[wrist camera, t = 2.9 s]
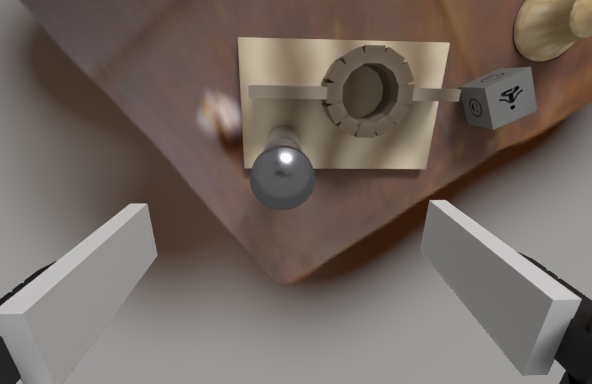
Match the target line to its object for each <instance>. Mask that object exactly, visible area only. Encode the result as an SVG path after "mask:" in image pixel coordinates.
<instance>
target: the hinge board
mask: <svg viewBox="0 0 592 384" xmlns="http://www.w3.org/2000/svg"><path fill="white" fill-rule="evenodd" d="M449 45H450V43H440V42H400V41H361V40H322V39H282V38H243V37H238V50H239V70H240V90H241V110H242V130H243V150H244V168H252V166H253V164H254V162H255V160H256V158H257V157H258V156H259V155H260V154H261V153H262V152H263V151H264V148H265V145H266V141H267V138H268V135H269V133H270V131H271V130H272V129H274V128H275V127H277V126H282V125H284V126H289V127H291V128H292V129H294V130H295V132H296V133H297V135H298V138H299V141H300V145H301V149H302V152H303V153H304V154H305V155H306V156H307V157H308V158H309V160H310V162H311V164H312V166H313V169H426V166H427V161H428V155H429V150H430V145H431V139H432V134H433V129H434V124H435V118H436V113H437V108H438V103H439V101H457V102H459V98H460V93H461V89H441V87H442V81H443V76H444V71H445V66H446V60H447V55H448V50H449Z"/></svg>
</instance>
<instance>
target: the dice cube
mask: <svg viewBox="0 0 592 384" xmlns="http://www.w3.org/2000/svg"><path fill="white" fill-rule="evenodd" d="M459 89H461V93H460V94H461V98H462V102H463V106H464V111H465V115H466V119H467V123H468V124H470V125H474V126H478V127H483V128H487V129H492V130H494V129H497V128H499V127H501V126H503V125H506V124H508V123H510V122H513V121H515V120H517V119H519V118H522V117H524V116H526V115H528V114H531V113H533V112H535V111H537V105H536V98H535V91H534V84H533V77H532V70H531V67H518V68H501V69H497V70H495V71H493V72H490V73H488V74H486V75H484V76H482V77H480V78H477V79H475V80H473V81H471V82H469V83H467V84H465V85H462V86H460V87H459Z"/></svg>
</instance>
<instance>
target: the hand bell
mask: <svg viewBox="0 0 592 384" xmlns="http://www.w3.org/2000/svg"><path fill="white" fill-rule="evenodd" d="M513 34H514V42H515V45H516V47H517V50H518V51H519V53H520V54H521V55H523V56H524V57H525V58H527V59H529V60H532V61H538V62H540V61H546V60H550V59H553V58H555V57H557V56H559V55H560V54H562V53H563V52H565V51H566V50H567V49H569V48H570V47H571V46H572V45H573V44H574V43H575V42H576V41H577V40H580V39H583V38H587V37H591V36H592V0H525V2H524V3H523V4H522V6H521V8H520V10H519V12H518V14H517V16H516V19H515V24H514V32H513Z"/></svg>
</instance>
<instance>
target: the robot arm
mask: <svg viewBox="0 0 592 384" xmlns="http://www.w3.org/2000/svg"><path fill="white" fill-rule="evenodd" d="M420 250H421V252H422V253H423V254H424V256H425V257H426V258H427V259H428V261H429V262H430V263H431V264H432V265H433V267H434V268H435V269H436V270H437V272H438V273H439V274H440V275H441V277H442V278H443V279H444V280H445V281H446V283H447V284H448V285H449V286H450V288H451V289H452V290H453V291H454V292H455V294H456V295H457V296H458V297H459V299H460V300H461V301H462V302H463V304H464V305H465V306H466V307H467V308H468V310H469V311H470V312H471V313H472V315H473V316H474V317H475V318H476V319H477V321H478V322H479V323H480V324H481V326H482V327H483V328H484V329H485V330H486V332H487V333H488V334H489V335H490V337H491V338H492V339H493V340H494V341H495V343H496V344H497V345H498V346H499V348H500V349H501V350H502V351H503V353H504V354H505V355H506V356H507V358H508V359H509V360H510V361H511V362H512V364H513V365H514V366H515V367H516V369H517V370H518V371H519V372H520V373H521V375H522V376H524V375H548V373H549V371H550V368H551V366H552V364H553V361H554V360H555V359H556V360H557V361H558V362H559V363H560V364H561V366H562V367H563V368H564V369H565V370H566V371H565V373H564V375H563V377H562V379H561V381H560V383H559V384H592V300H590V299H589V298H587V297H586V296H585V295H583V294H582V293H580V292H579V291H578V290H576V289H575V288H573V287H572V286H570V285H569V284H568V283H566V282H565V281H563V280H562V279H558V277H557V276H556V275H555V274H553V273H552V272H550V271H547V269H546V268H545V267H544V266H542V265H541V264H539V263H538V262H536V261H535V260H533V259H532V258H529V257H527V256H525V255H523V254H521V253H519V252H516V251H515V250H513V249H512V248H511V247H509V246H508V245H506V244H505V243H504V242H502V241H501V240H500V239H498V238H497V237H495V236H494V235H493V234H491V233H490V232H489V231H487V230H486V229H484V228H483V227H482V226H480V225H479V224H477V223H476V222H475V221H473V220H472V219H470V218H469V217H468V216H466V215H465V214H464V213H462V212H461V211H460V210H458V209H457V208H455V207H454V206H453V205H451V204H450V203H449V202H447V201H446V200H430V201H429V206H428V211H427V217H426V222H425V228H424V233H423V238H422V244H421V249H420ZM156 257H157V251H156V245H155V240H154V235H153V230H152V225H151V220H150V215H149V210H148V205H147V204H129V205H128V206H127V207H126V208H124V209H123V210H122V211H120V212H119V213H118V214H117V215H115V216H114V217H113V218H112V219H110V220H109V221H108V222H106V223H105V224H104V225H103V226H101V227H100V228H99V229H98V230H96V231H95V232H94V233H92V234H91V235H90V236H89V237H87V238H86V239H85V240H84V241H82V242H81V243H80V244H79V245H77V246H76V247H75V248H73V249H72V250H71V251H70V252H68V253H67V254H66V255H64V256H63V257H62V258H61V259H59V260H58V261H55V262H53V263H52V264H50V265H48V266H46V267H44V268H42V269H40V270H38V271H37V272H35V273H34V274H33V275H31V276H30V277H29V278H27V279H26V280H25V281H24V283H21V284H19V285H18V286H17V287H16V288H14V289H13V290H12V292H9V293H8V294H6V295H5V296H4V297H3V298H1V299H0V384H16V383H17V381H18V380H19V379H21V381H22V382H23V384H64V382H65V381H66V379H67V378H68V377H69V375H70V374H71V372H72V371H73V370H74V368H75V367H76V366H77V365H78V363H79V362H80V360H81V359H82V358H83V356H84V355H85V354H86V352H87V351H88V349H89V348H90V347H91V345H92V344H93V343H94V341H95V340H96V339H97V337H98V336H99V334H100V333H101V332H102V330H103V329H104V328H105V326H106V325H107V324H108V322H109V321H110V319H111V318H112V317H113V315H114V314H115V313H116V311H117V310H118V308H119V307H120V306H121V304H122V303H123V302H124V300H125V299H126V298H127V296H128V295H129V294H130V292H131V291H132V289H133V288H134V287H135V285H136V284H137V283H138V281H139V280H140V279H141V277H142V276H143V274H144V273H145V272H146V270H147V269H148V268H149V266H150V265H151V264H152V262H153V261H154V259H155V258H156Z"/></svg>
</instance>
